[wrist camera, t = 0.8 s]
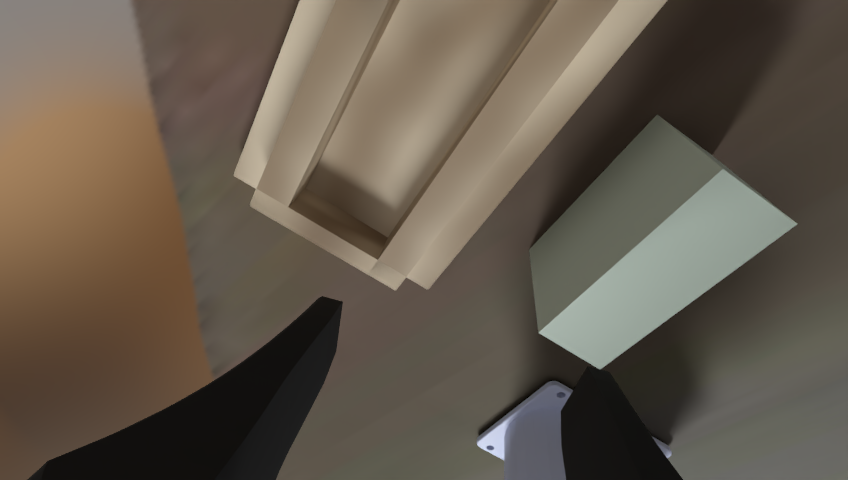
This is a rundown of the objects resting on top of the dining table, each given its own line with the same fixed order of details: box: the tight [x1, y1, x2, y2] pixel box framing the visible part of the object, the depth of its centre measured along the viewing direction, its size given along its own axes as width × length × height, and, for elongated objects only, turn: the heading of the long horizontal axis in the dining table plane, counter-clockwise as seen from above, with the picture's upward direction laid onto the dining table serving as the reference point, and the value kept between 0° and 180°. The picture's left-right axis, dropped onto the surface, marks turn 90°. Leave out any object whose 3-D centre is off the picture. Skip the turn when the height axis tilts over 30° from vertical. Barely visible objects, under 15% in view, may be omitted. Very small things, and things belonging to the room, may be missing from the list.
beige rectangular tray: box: [233, 0, 667, 291], centre depth 16 cm, size 11×17×3 cm, turn 148°
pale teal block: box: [529, 115, 797, 369], centre depth 17 cm, size 3×8×6 cm, turn 148°
